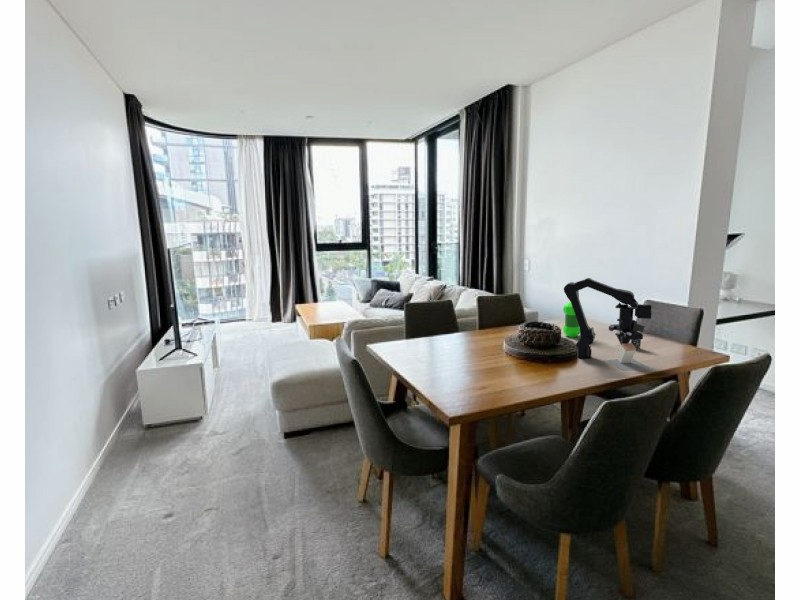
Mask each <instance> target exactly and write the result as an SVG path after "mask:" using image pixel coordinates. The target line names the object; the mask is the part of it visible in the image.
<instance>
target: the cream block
mask: <svg viewBox="0 0 800 600" xmlns="http://www.w3.org/2000/svg"><path fill="white" fill-rule="evenodd" d="M636 351H637V348H635V346H634V345H633V344H632V343H626V344H622V345H621V347H620V346H619V350H618V353H617V355H616V359H618V361H619V362H620V363H630V362H631V360H632V359H634V355H635V353H636Z"/></svg>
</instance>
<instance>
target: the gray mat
mask: <svg viewBox="0 0 800 600" xmlns="http://www.w3.org/2000/svg"><path fill="white" fill-rule="evenodd" d="M605 361H606V362H607V363H608V364H610V365H612V366H614V367H616V368H617V369H620V370H621V371H638V370H642V371H643V370H653V369H652V368H651V367H650V366H648V365H646V364H644V363H642V362H640V361H638V360H636V359H634V358H632V360H631V362H630V363H620V362H619V361H618V359H617V358H616V359H605Z"/></svg>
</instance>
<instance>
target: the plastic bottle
mask: <svg viewBox="0 0 800 600" xmlns="http://www.w3.org/2000/svg"><path fill="white" fill-rule="evenodd" d="M562 310H563V313H564V314H565V319H564V322H565V323H564V326H563V328H562V329H563V330H562V332H563V333H564V335H566V336H567V337H568V336H569V338H576V337H577V336H580V327H579V324H578V321H577V318H576V316H575V313H574V310H573V307H572V304H571V302H570V300H569V301H568V302H567V303H565V304H564V306H563V309H562Z"/></svg>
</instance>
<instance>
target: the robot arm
mask: <svg viewBox="0 0 800 600" xmlns="http://www.w3.org/2000/svg"><path fill="white" fill-rule="evenodd" d="M585 288H589V289H592V290H595V291H597V292H600V293H602V294H605V295H608V296H610V297H612V298H614V299H615V300H617V301H618V302H619V303H618V304H617V305H615V309H619V314H618V315H619V317H618V318H616V319H617V320H616V321H617V322H618V323H615V324H610V325H609V326H608V330H609V331H610V332H614V331H616V333H615V334H614V335H615V336H616V337H617V339H618V342H619V345H620V344H621V345H622V344H626V343H629V341H630V340H637V339H641V340H643V339H644V334H643V332H644V330H645V328H646V326H645V325H642V324H639V323H638V321H637V320H635V319H634V317H636V318H637V319H642V320H651V319H652V304H649V303H648V304H641V303H639V302H638V301H637V300H636V298H635V293H634V292H633V291H630V290H627V289H621V288H615V287H613V286H610V285H607V284H606V283H601V282H599V281H597V280H594V279H593V278H590V277H586V278H584V279H583V280H579V281H576V282H573V281H571V282H568V283H567V284H565V286H564V287H563V292H564V294H565V296H566V297H567V299H568V300H569V301H570V302H571V304H572V307H573V310H574V313H575V316H576V318H577V321H578V324H579V327H580V333H579V336H580V338H579V339H578V340H577V342H576V343H575V351H576V350H577V357H576V358H577V359H579V360H590V359H592V347H591V345H592V344H593V343H594V341H595V339H596V335H597V334H596V333H595V330H594V327H590V325H589V323H588V321H587V318H586V315H585V312H584V310H583V305H582V304H581V301H580V293H579V291H581V290H583V289H585ZM635 330H637V331H635ZM631 331H634V332H631Z"/></svg>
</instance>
